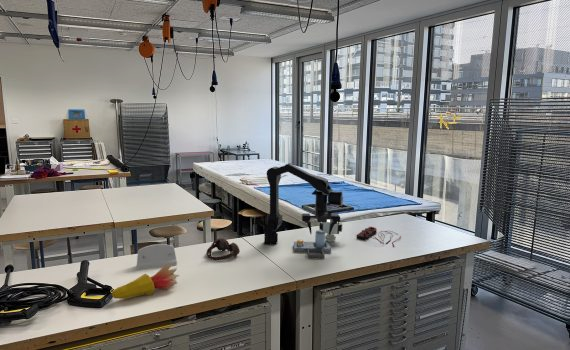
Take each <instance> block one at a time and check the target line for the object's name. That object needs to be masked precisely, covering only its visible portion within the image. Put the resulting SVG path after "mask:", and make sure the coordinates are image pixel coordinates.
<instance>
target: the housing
mask: <svg viewBox="0 0 570 350" xmlns="http://www.w3.org/2000/svg"><path fill="white" fill-rule="evenodd" d="M307 249H322V250H323V252H324V254H325V253H326V254H327V253H329V254H330V253H332V247H331V245H330V241H325V247H315V241H303V246H297V241H293V251H294V253H307Z"/></svg>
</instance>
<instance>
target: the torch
mask: <svg viewBox="0 0 570 350" xmlns="http://www.w3.org/2000/svg"><path fill="white" fill-rule="evenodd" d="M173 263H174V262H172V263H170V264H167V265H165V266H164V267H161V268H160V269H159V270H158V271H157V272H156V273H155V274H154V275H152V276H150V275H149V274H147V273H144V274H142V275H141V276H139V277H137V278H136V279H134V280H132V281H130V282H128V283H126V284H124V285H121V286H118V287H116V288H115V289H114V290H112V292H111V296H112V297H113V299H115V300H116V299H118V300H119V299H120V300H121V299H122V300H123V299H130V298H133V297H139V296H144V295H145V296H149V295H150V296H151V295H154V292H155V290H167V289H169V288H171V287H173V286H174V285H176V284H178V282H177V278H178V277H180V276H181V274H176V273H175V272H176V271H177V269H178V267H174V268H171V267H173V266H172V265H173Z"/></svg>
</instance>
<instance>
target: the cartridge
mask: <svg viewBox="0 0 570 350" xmlns="http://www.w3.org/2000/svg"><path fill="white" fill-rule="evenodd" d="M325 236H326V233H325V231H322V230H320V229H319V230H316V231H315V239H314V240H315V241H314V242H315V247H325V242H326V239H325Z"/></svg>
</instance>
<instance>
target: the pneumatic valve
mask: <svg viewBox="0 0 570 350" xmlns="http://www.w3.org/2000/svg"><path fill="white" fill-rule="evenodd" d="M329 226H330V220H327V222H319V225H318V227H319V230H322V231H325V242H329V243H334V241H336V239H337V237H336V235H339V234H340V232H343V223H342V222H341V221H340V222H337V224H335V225H334V226H333V228H332V231H331V233H330V235H329Z"/></svg>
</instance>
